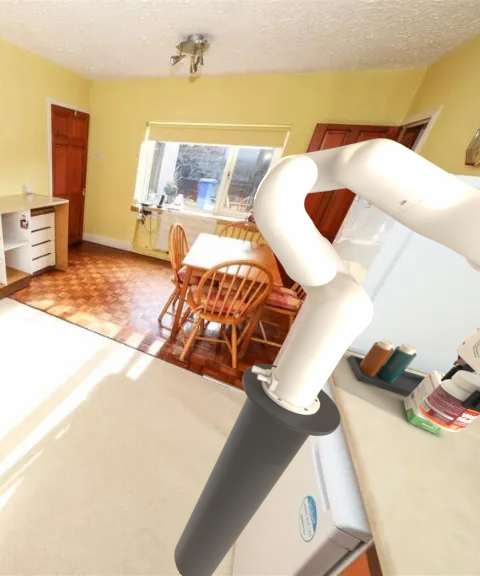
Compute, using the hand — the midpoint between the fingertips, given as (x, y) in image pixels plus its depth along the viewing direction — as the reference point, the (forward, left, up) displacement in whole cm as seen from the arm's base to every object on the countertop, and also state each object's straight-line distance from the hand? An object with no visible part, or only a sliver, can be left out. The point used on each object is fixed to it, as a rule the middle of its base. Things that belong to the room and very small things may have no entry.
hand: (462, 395), depth 52 cm
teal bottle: (+3, +25, -16) cm, 30 cm away
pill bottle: (0, 0, -7) cm, 7 cm away
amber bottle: (-2, +25, -16) cm, 30 cm away
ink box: (+6, +12, -16) cm, 21 cm away
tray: (+5, +25, -16) cm, 30 cm away
